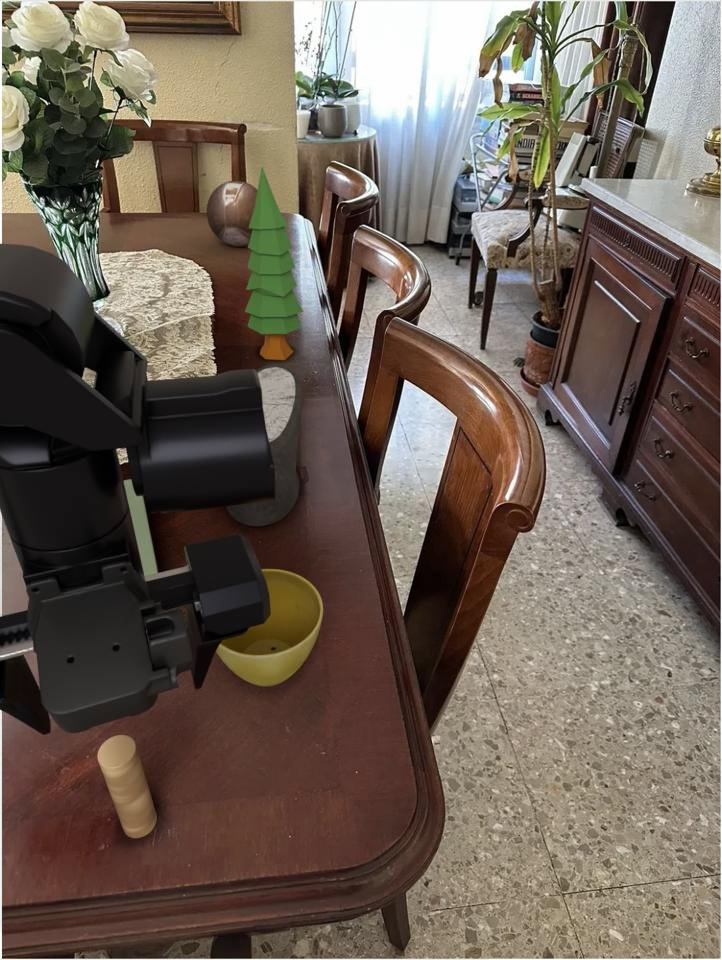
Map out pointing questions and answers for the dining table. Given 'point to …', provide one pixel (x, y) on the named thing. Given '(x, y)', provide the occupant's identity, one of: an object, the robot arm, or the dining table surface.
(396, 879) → the dining table surface
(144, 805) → the peg
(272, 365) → the grey stone cylinder
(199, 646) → the robot arm
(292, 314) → the decorative tree
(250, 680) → the flower pot
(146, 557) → the peg board
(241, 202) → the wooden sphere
